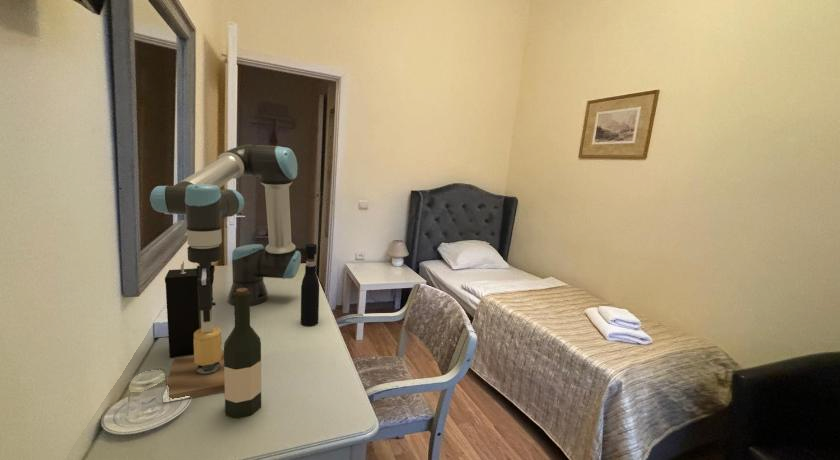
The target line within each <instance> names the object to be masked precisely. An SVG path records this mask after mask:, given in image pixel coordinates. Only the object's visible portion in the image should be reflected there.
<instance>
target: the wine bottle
mask: <svg viewBox="0 0 840 460" xmlns="http://www.w3.org/2000/svg"><path fill="white" fill-rule="evenodd" d="M317 254H318V253H317V244H316V243H307V244H305V255H307V256H306V259H307V260H306V261H305V262H306V263H305V266H304V269H305V270H304V271H305V272H304V275H303V278H302V281H301V286H300V288H301V289H300V325H301V326H302V327H314V326H317V325H318V324H319V316H320V315H319V311H320V310H319V309H320V308H319V305H320V282H319V278H318V274H317V265H316V260H315V255H317ZM316 324H317V325H316Z"/></svg>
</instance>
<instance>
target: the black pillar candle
mask: <svg viewBox="0 0 840 460" xmlns="http://www.w3.org/2000/svg"><path fill="white" fill-rule="evenodd" d="M196 269H197V267H196V268H185V260H183V261H182V262H181V264H180V269H177V268H176V269H169V270H168V271H167V273H166V275H165V277H164V283H165V298H166V313H167V314H166V317H167V318H166V319H167V333H168V334H167V335H168V351H169V352H168V353H169V355H168V356H169V358H170V359H172V358H179V357H186V356H193V355H194V340H193V339H194V332H195V331H196V330H198V329H200V328H201V311H197V309H198V307H200V300H199V286H198V282H197V276H196Z"/></svg>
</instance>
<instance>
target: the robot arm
mask: <svg viewBox="0 0 840 460" xmlns="http://www.w3.org/2000/svg"><path fill="white" fill-rule="evenodd" d="M298 168H299V167H298V160H297V157H296V155H295V153H294V151H293V150H292V149H291V148H289V147H284V146H279V145H267V144H266V145H263V144H262V145H261V144H244V145H239V146H236V147H234V148H230V149H228V150H226V151H224V152H222V153H220V154H219V155H218V156H217V157H216V160H215V161H213V162H211V163H210V164H208V165H206V166H205V167H203V168H202V169H200V170H198V171H196V172H195V173H192V174H191V175H189V176H188V177H186V178H184V179H183V180H181V181H179V182H178V183H176V184H175V185H157V186H155V187H154V188H153V189H152V191H151V193H150V196H149V202H150V205H151V208H152V209H153V210H154V211H156V212H158V213H163V214H168V215H172V214H173V215H185V216H186V217H185V218H186V219H185V220H186V232H184V234H183V236H184V237H186V239H187V241H186V242H187V245H188V247H187V250H186V251H187V261H188V262H190V263H193V264H198V265H197V266H196V268H197V269H196V276H197V282H198V286H199V300H200V307H198V309H197V311H201V333H205V332H213V326H214V306H217V305H216V302H213V301H214V295H213V294H214V293H213V287H214V286H213V285H214V279H215V271H216V270H215V267H216V266H215V265H214V264H212V263H216V262H219V261H221V259H222V257H223V256H222V255H223V254H222V253H223V251H222V249H223V248H222V246H221V244H222V243H223V241H222V240H223V239H222V219H224V218H228V217H233V216H234V217H235V216H236V215H238V214H239V213H241V212H242V211H243V210H244V207H245V199H244V197H243V195H242V194H241V193H240V192H239V191H238V190H236V189H227V188H225V189H221V187H223V186H224V185H226V184H227V183H228V182H230V181H231V180H232V179H238V178H241V177H243V176H249V177H250V176H251V177H259V182H260V184H261V185H262V186H264V192H265V205H266V208H265V209H266V219H267V233H268V244H267V245H266V246H264V245H263V244H259V243H257V244H256V243H255V244H253V243H252V244H246V245H240V246H238V247H236V248H234V249H233V251H232V254H231V255H232V256H231V264H232V266H231V269H232V284H231V286H230V290H229V293H228V297H227V299H228V300H227V301H228V303H229V304H230V305H232V306H234V293H235V292H236V289H239V288H247V289H248V291H249V292H250V306H255V305H259V304H263V303H265V302H266V301H267V300H268V299H269V292H268V290H267V286H266V284H265V282H264V278H269V279H272V278H273V279H282V280H285V279H294V278H295V277H296V275H297V274H298V272H299V270H300V266H301V261H302V260H301V259H302V254H301V252H300V251H299V250H297V249H296V245H295V244H294V243H293V242H292V229H291V228H292V227H291V208H290V207H291V205H290V203H291V202H290V185H292V184H293V180H294V179H296V178H297V176H298V170H299V169H298Z"/></svg>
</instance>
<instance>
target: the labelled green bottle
mask: <svg viewBox="0 0 840 460" xmlns="http://www.w3.org/2000/svg"><path fill="white" fill-rule="evenodd" d="M233 306H234V328H232V331H231V332H230V333H229V335H228V337H227V338H226V340H225V341H224V342H223V351H224V379H225V392H224V409H225V410H224V411H225V412H224V413H225V416H227V417H230V418H232V419H235V420H237V419H241V418H245V417H246V418H248V417H251V416H253V415H254V414H255V413H256V412H257V411H259V410H260V409H261V408H262V341H261V337H260V336H259V334H258V333H256V331H255V329H254V328H253V327H252V326H251V316H250V315H251V309H250V308H251V307H250V292H249V291H248V289H247V288H239V289H236V292H235V293H234V305H233Z"/></svg>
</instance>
